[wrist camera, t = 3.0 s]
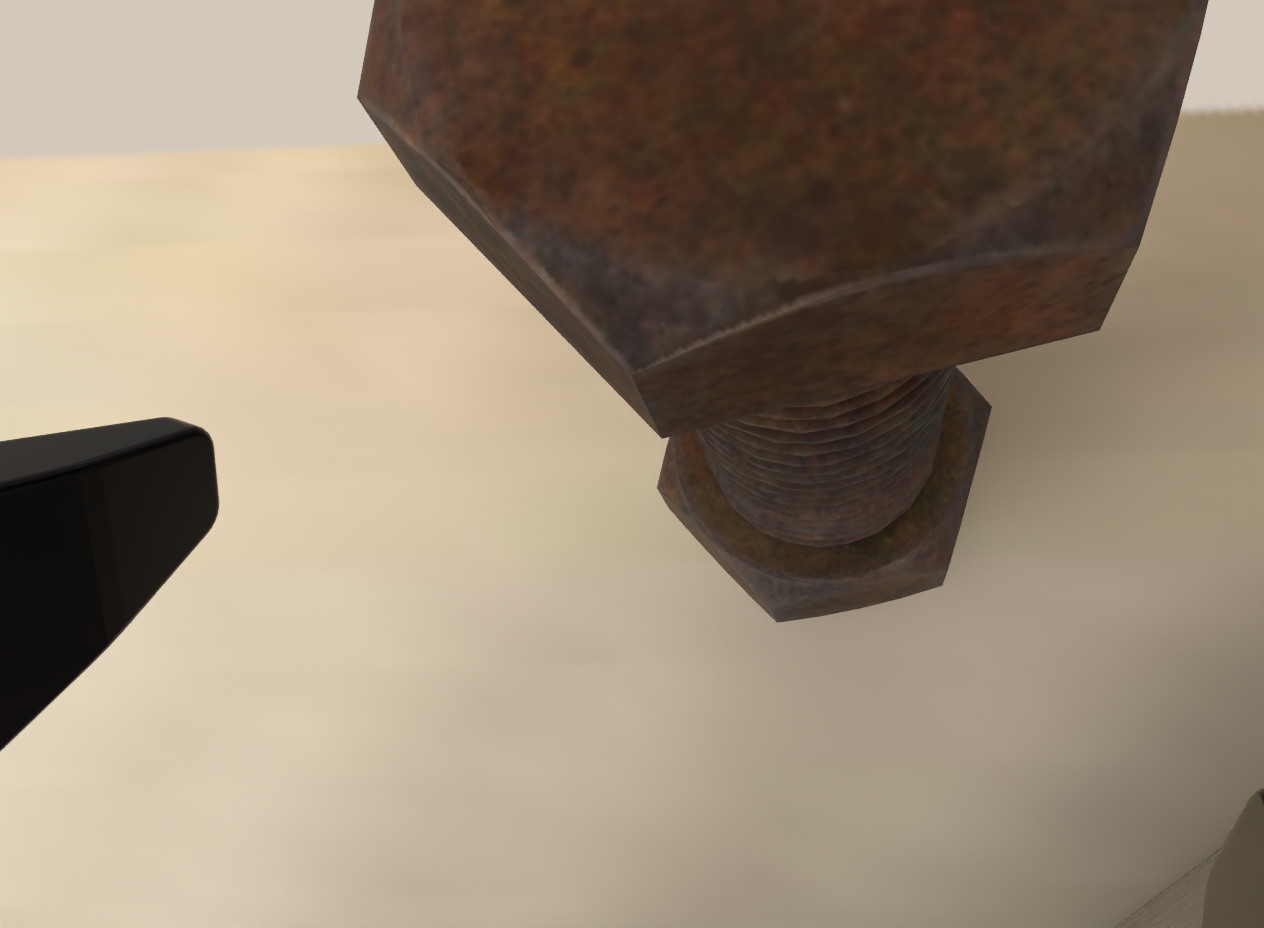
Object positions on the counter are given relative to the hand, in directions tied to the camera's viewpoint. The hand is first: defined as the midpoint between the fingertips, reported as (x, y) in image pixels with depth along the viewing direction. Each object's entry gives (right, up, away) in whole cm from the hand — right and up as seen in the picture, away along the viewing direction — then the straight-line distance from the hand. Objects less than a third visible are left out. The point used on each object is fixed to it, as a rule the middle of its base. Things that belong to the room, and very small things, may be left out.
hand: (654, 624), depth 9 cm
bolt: (+4, 0, +12) cm, 12 cm away
